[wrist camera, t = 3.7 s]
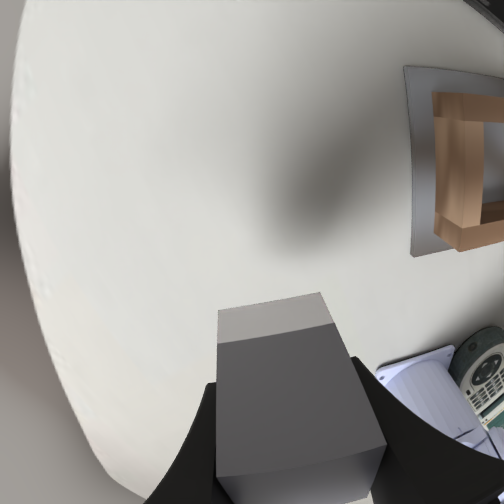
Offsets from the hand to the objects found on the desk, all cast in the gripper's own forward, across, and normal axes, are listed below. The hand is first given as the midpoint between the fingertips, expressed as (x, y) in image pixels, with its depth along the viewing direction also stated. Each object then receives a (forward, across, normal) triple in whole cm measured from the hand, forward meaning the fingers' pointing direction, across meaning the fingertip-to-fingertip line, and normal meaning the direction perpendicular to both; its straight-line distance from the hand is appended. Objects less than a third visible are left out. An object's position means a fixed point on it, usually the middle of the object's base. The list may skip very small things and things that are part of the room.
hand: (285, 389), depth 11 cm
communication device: (+10, -25, +21) cm, 34 cm away
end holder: (+9, -16, -5) cm, 19 cm away
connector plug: (+3, 0, 0) cm, 3 cm away
